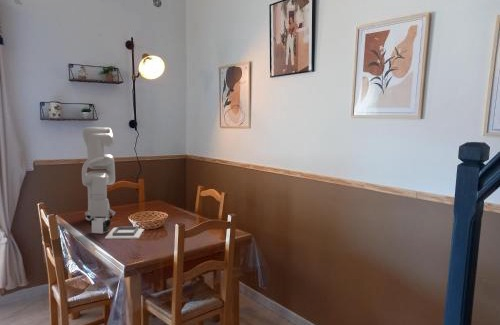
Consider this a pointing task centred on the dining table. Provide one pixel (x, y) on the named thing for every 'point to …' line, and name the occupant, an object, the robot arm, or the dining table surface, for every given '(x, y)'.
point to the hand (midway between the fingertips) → (100, 226)
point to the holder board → (125, 233)
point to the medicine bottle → (100, 225)
